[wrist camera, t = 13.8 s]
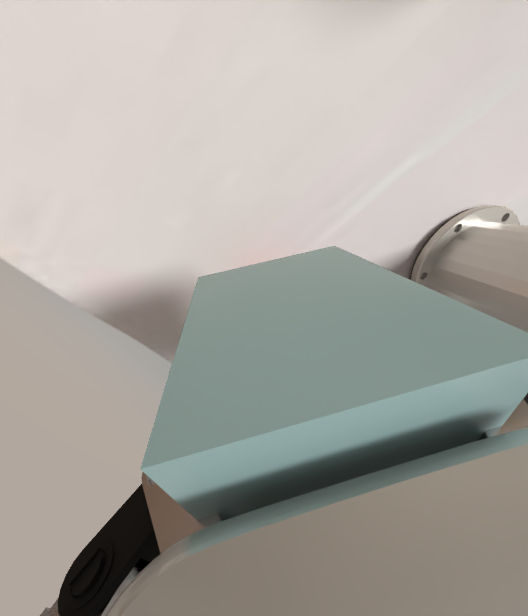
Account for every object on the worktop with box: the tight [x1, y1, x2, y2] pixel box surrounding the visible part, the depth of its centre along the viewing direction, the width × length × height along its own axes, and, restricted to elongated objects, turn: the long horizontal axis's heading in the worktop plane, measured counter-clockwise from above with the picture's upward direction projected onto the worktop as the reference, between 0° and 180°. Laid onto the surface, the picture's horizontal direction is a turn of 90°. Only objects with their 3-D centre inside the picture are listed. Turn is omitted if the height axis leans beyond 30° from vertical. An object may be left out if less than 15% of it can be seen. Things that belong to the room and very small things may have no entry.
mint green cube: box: [141, 246, 528, 520], centre depth 9 cm, size 8×8×9 cm
